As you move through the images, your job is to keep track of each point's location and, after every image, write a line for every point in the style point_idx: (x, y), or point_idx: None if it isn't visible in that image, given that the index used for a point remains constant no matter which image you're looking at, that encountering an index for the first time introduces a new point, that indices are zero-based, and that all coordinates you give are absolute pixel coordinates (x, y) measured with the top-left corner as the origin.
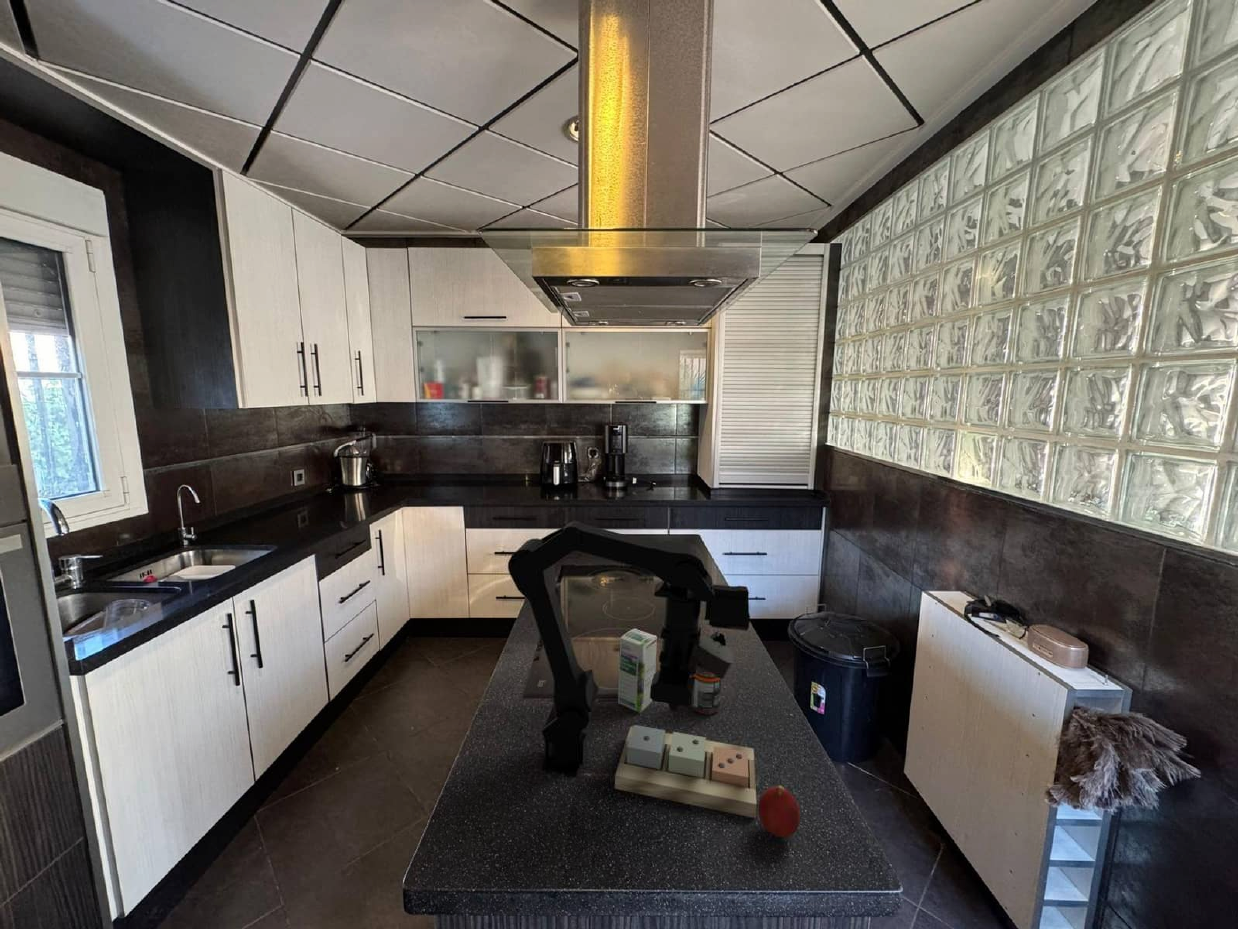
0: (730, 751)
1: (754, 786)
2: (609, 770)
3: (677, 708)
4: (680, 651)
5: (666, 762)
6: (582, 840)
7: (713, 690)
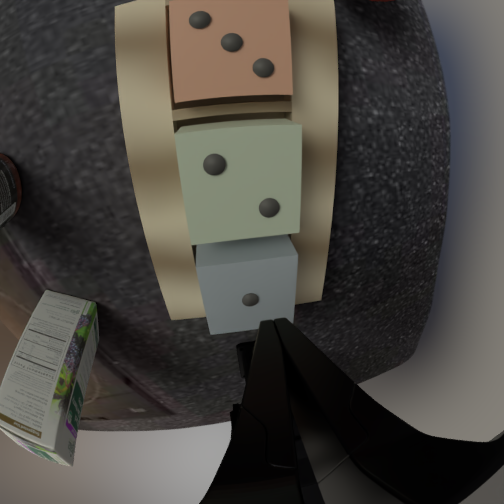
0: (183, 46)
1: None
2: None
3: (300, 332)
4: None
5: None
6: (396, 283)
7: None
